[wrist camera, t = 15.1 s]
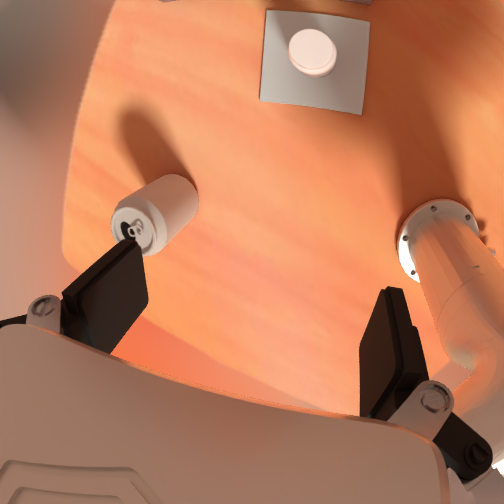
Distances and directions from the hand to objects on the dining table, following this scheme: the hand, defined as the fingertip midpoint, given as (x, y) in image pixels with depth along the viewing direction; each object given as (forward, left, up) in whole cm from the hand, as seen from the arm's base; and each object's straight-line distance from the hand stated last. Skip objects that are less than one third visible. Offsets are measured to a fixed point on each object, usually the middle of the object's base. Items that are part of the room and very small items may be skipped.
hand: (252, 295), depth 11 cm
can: (+17, +8, -28) cm, 34 cm away
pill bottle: (0, -12, -28) cm, 30 cm away
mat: (0, -12, -28) cm, 31 cm away
